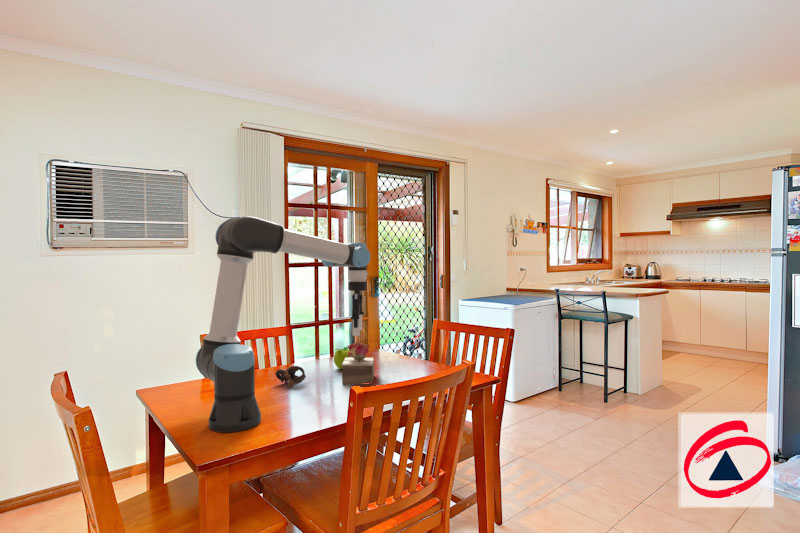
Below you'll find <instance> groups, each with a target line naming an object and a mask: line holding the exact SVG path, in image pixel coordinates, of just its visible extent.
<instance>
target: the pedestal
mask: <svg viewBox="0 0 800 533" xmlns="http://www.w3.org/2000/svg"><path fill="white" fill-rule="evenodd" d="M373 378H374V379H375V357H373V356H366V358H364V360H360V362H359V363H358V360H354V358H345V360H344V362H343V364H342V370H341V382H342V383H341V384H350V385H351V386H352V385H353V384H355V385H362V384H361V383H371V382H373V383H374V379H373Z"/></svg>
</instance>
